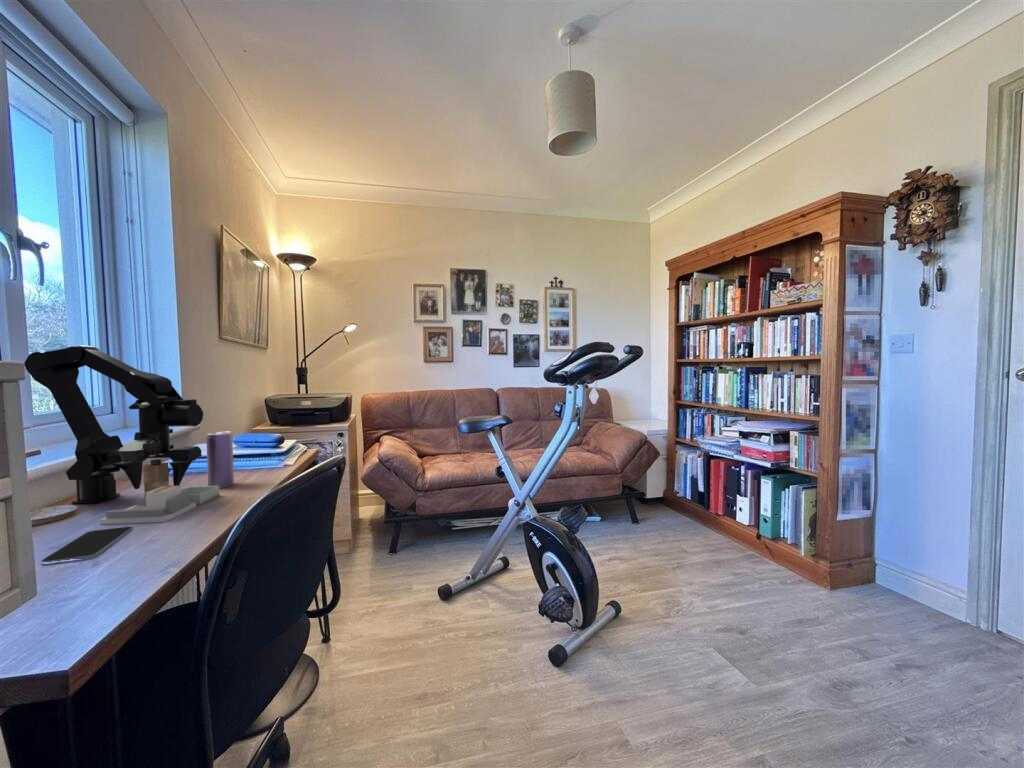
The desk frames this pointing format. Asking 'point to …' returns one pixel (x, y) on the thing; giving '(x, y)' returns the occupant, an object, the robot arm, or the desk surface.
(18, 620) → the desk surface
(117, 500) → the desk surface
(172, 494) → the breaker
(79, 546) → the smartphone
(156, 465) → the tan rectangular block
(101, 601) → the desk surface
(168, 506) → the panel
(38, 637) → the desk surface
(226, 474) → the beverage can
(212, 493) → the holder
